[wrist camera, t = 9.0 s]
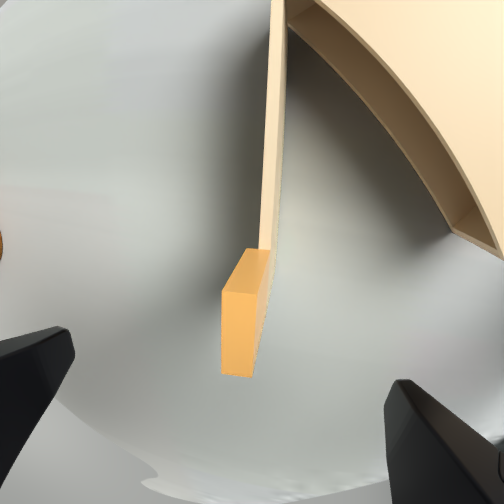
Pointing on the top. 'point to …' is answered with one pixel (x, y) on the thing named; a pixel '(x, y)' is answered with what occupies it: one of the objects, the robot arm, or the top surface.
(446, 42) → the carton
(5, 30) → the top surface
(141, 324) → the top surface
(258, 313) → the carton flap
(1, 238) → the disposable coffee cup
